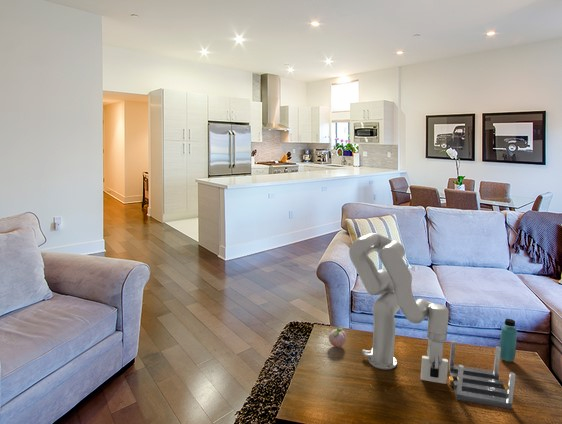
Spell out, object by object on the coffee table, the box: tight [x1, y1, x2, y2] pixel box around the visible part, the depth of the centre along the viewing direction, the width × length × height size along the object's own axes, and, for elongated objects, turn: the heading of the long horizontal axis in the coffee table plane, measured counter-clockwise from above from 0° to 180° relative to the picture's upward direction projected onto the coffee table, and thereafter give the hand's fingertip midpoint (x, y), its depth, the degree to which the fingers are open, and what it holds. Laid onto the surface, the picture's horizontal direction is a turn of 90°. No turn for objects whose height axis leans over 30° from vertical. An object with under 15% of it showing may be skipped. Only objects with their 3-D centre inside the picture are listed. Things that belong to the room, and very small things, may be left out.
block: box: [420, 355, 449, 385], centre depth 156 cm, size 10×2×10 cm, turn 73°
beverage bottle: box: [498, 318, 518, 362], centre depth 170 cm, size 6×7×20 cm
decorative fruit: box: [328, 327, 347, 348], centre depth 182 cm, size 9×8×10 cm
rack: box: [448, 339, 516, 410], centre depth 151 cm, size 21×21×14 cm
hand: (433, 374), depth 156 cm, fingers closed on block, 2 cm apart
